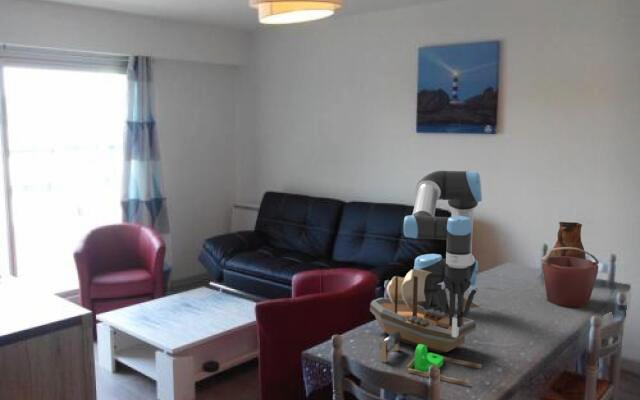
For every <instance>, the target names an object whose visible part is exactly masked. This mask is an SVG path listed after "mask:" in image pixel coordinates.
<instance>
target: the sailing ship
mask: <svg viewBox="0 0 640 400" xmlns="http://www.w3.org/2000/svg"><path fill="white" fill-rule="evenodd" d="M430 273H432V272H428V271H423V270H419V269H414V268H413V269H410V270H409V271H408V272H407V273H406V275H405V276H404V277H403V276H402V277H401V276H398V275H395V276H393V277H392V278H391V280H389V282H388V284H387V285H386V293H387V297H388V298H387V297H378V298H376V299H373V300H371V302H370V303H369V311H370V312H371V313H372V315H374V317H375V319H376V321H377V323H378V326H379V327H380V328H381V329H382V330H383V331H384V332H385V333H386V334H388V336H389V335H391V334H392V333H393V332H394V331H395V330H396V331H400V334H401V337H402V339H401V341H400V342H402V343H406V344H409V345H412V346H414V347H417V346H418V344H422V345H426V346H427V351H431V352H432V353H435V354H442V353H447V352H449V351H452V350H453V349H455V348H457V347H459V346H460V345H463V344H464V343H466V342H465V341H466V336H467V335H469V334H471V333H473V332H474V331H476V328H477V327H476V325H477V322H476V320H474V319H471V318H466V317H462V326H461V327H459V335H458V336H457V337H452V326H450V325H449V315H448V316H445V315H446V314H445V313H444V311H439V310H438V311H434V309H430V310H425V309H424V308H423V307H421V306H419V305H417V302H418V301H426V299H425V295H424V285H425V279H426V276H427V275H428V274H430ZM467 299H468V298H465V297H463V312H464V309H465V306H466V303H467ZM412 302H413V303H412ZM471 308H481V306H480V305H478V304H476V303H474V302H472V304H471V307H470V309H471Z"/></svg>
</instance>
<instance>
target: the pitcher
mask: <svg viewBox="0 0 640 400" xmlns="http://www.w3.org/2000/svg"><path fill="white" fill-rule="evenodd" d="M558 224H559V227H558V228H559V229H558V232H557V240H556V242H555V244H554V246H553V248H559V247H573V248H579V249H581V250H584V251H585V247H584V245H583V243H582V235H581V233H582V227H583V224H581V223H580V222H575V221H574V222H570V221H568V222H566V221H560V222H558ZM562 256H569V257H575V258H581V259H587V258H586V253H584V252H581V251H579V250H571V249H566V250H558V251H554V252H552V254H551V256H550V257H562Z"/></svg>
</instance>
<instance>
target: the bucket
mask: <svg viewBox="0 0 640 400" xmlns="http://www.w3.org/2000/svg"><path fill="white" fill-rule="evenodd" d="M566 249H571V250H579V251H581V252H584V253H585V255H588V256H590V257H591V258H592V259H593V260H594V262H593V261H592V260H591V259H587V258H586V259H581V258H575V257H569V256H562V257H550V256H551V254H552V252H554V251H558V250H566ZM540 261H541V262H542V272H543V273H542V274H543V279H544V280H543V281H544V286H545V293H546V300H547V303H548V302H549V303H551V304H553V305H555V306H558V307H562V308H563V307H564V308H572V309H573V308H574V309H580V308H585V307H587V306H589V303H590V299H591V297H592V293H593V290H594V287H595V284H596V280H597V277H598V273H599V263H600V261H599V259H598V258H596V256H595V255H593V254H592V253H589V252H587V251H586V250H585V249H584V250H581V249H579V248H573V247H559V248H554V247H552V248H549V249H547V252H546V253H545V255H544V256H542V257H541V258H540Z"/></svg>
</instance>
